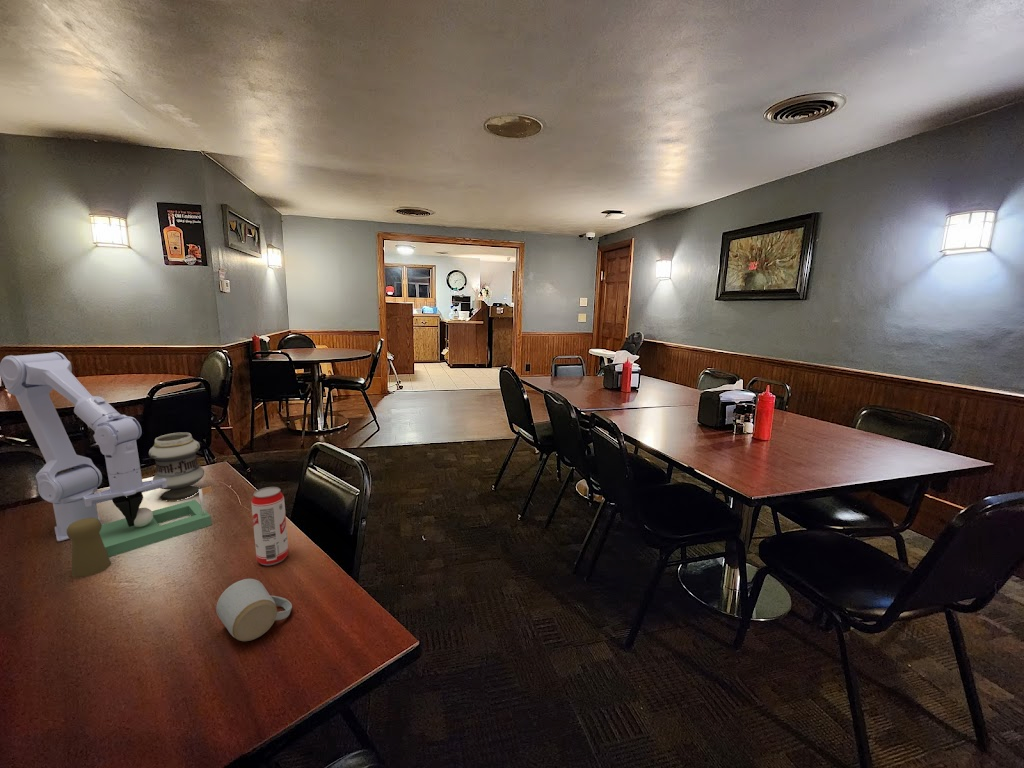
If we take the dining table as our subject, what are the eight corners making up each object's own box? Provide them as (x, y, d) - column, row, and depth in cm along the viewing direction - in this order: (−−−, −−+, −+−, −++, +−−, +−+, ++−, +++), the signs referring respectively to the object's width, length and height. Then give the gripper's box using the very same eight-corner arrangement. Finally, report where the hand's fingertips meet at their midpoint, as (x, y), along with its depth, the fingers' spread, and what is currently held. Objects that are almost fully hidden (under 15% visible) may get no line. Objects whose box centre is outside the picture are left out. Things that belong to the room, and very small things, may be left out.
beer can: (256, 570, 92) (249, 500, 89) (257, 555, 97) (251, 488, 94) (289, 562, 94) (283, 494, 92) (288, 548, 100) (283, 483, 97)
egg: (122, 516, 103) (140, 501, 105) (139, 525, 106) (156, 510, 108) (124, 524, 100) (142, 509, 102) (141, 533, 103) (159, 518, 105)
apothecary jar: (143, 501, 122) (135, 440, 119) (182, 484, 134) (175, 429, 131) (180, 505, 120) (172, 443, 117) (216, 487, 132) (209, 431, 129)
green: (91, 537, 103) (89, 527, 103) (196, 507, 119) (195, 499, 119) (99, 560, 94) (97, 549, 94) (211, 524, 110) (210, 515, 110)
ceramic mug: (234, 654, 70) (230, 611, 68) (217, 629, 75) (213, 589, 74) (300, 619, 78) (298, 581, 76) (281, 599, 83) (278, 563, 82)
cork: (86, 579, 88) (77, 529, 86) (63, 575, 89) (54, 526, 87) (118, 562, 94) (110, 515, 92) (96, 559, 95) (88, 512, 93)
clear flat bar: (201, 514, 110) (198, 489, 109) (213, 511, 112) (210, 485, 111) (202, 515, 110) (198, 489, 108) (214, 512, 112) (211, 486, 110)
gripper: (82, 483, 92) (92, 542, 95) (166, 465, 103) (174, 518, 105) (79, 475, 97) (89, 531, 99) (160, 459, 108) (167, 510, 110)
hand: (132, 524), depth 103 cm, fingers closed, pressing on egg
